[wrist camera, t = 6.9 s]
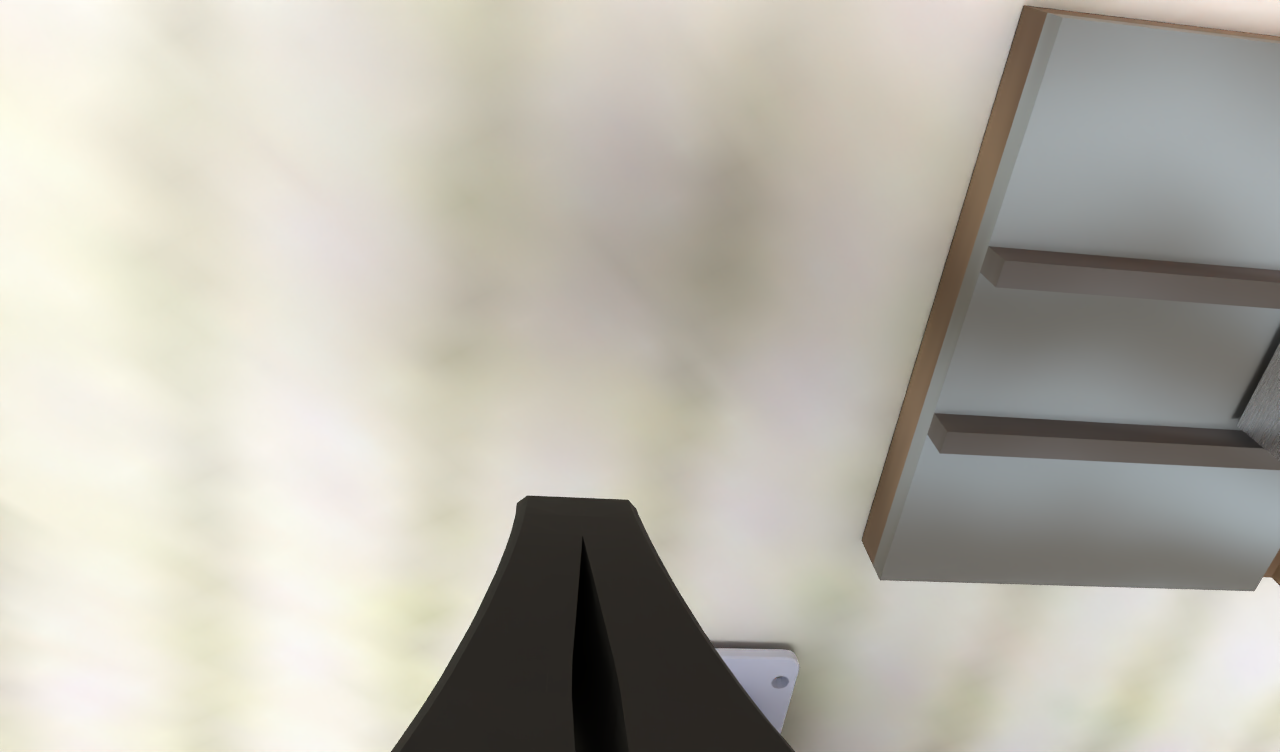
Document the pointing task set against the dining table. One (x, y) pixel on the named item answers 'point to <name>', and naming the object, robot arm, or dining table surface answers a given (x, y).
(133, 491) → the dining table surface
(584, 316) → the dining table surface
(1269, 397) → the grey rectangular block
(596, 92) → the dining table surface
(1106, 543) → the slide bolt latch board
